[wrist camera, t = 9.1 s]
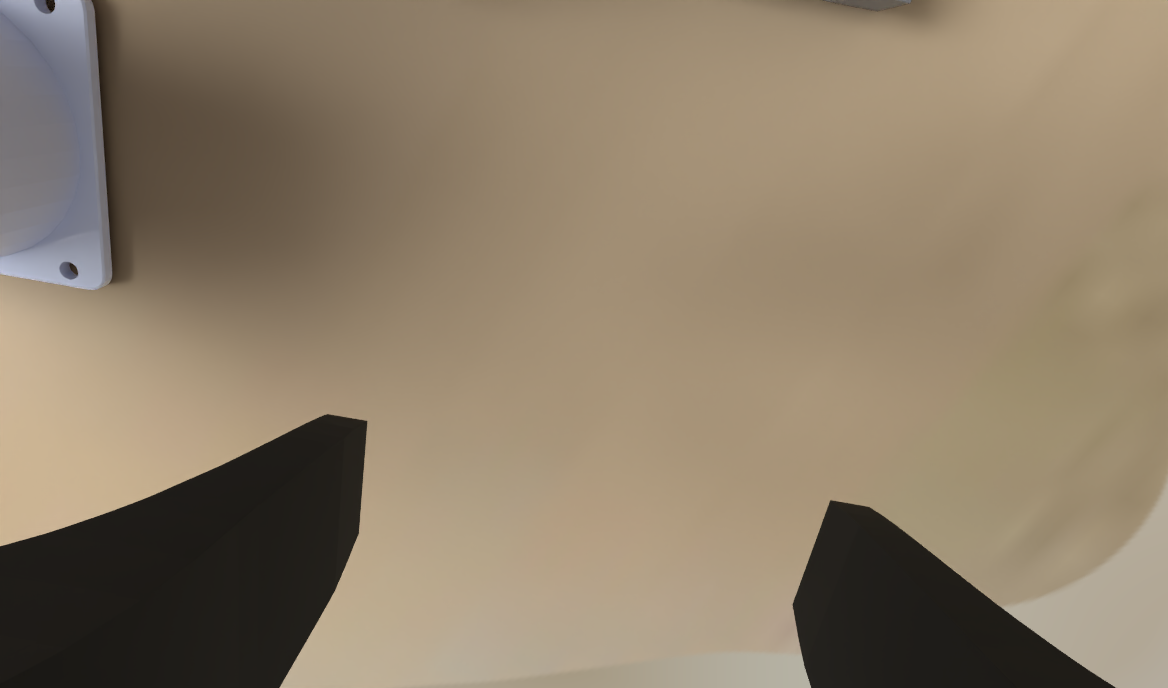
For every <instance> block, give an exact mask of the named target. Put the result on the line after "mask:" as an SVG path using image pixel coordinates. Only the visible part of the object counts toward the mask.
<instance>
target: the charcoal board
mask: <svg viewBox="0 0 1168 688" xmlns="http://www.w3.org/2000/svg"><path fill="white" fill-rule="evenodd" d="M824 1H828V2H833V3H838V4H843V5H848V6H853V7H858V8H863V9H868V10H873V11H881V10H885V9H889V8H893V7H897V6H901V5H905V4H909V3H910V2H911V0H824Z"/></svg>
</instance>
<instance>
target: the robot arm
mask: <svg viewBox="0 0 1168 688" xmlns="http://www.w3.org/2000/svg"><path fill="white" fill-rule="evenodd" d="M54 1H55V10H54V11H53V12H51V11H50V10H49V9H48V8H47V5H46V0H0V274H2V275H8V276H13V277H19V278H25V279H30V280H36V281H42V282H47V283H53V284H59V285H64V286H70V287H76V288H81V289H87V290H96V289H99V288H101V287H103V286H106V285H108V284H109V282H110V281H111V279H112V261H111V246H110V231H109V217H108V202H107V187H106V172H105V157H104V142H103V127H102V112H101V98H100V83H99V68H98V53H97V38H96V23H95V10H94V6H93V3H92V1H91V0H54ZM70 263H73V264H74V265H75V266H76V267H77V270H78V275H76V274H74V273H73V272H72V271H71V269H70V266H69V264H70ZM366 431H367V421H364V420H358V419H352V418H346V417H340V416H334V415H329V414H327V415H324V416H322V417H319V418H317V419H315V420H312V421H310V422H308V423H306V424H304V425H302V426H300V427H298V428H296V429H294V430H292V431H290V432H288V433H286V434H284V435H282V436H280V437H278V438H276V439H274V440H272V441H270V442H268V443H266V444H264V445H262V446H260V447H258V448H256V449H254V450H252V451H250V452H248V453H246V454H244V455H242V456H240V457H238V458H236V459H233V460H231V461H229V462H227V463H225V464H223V465H221V466H219V467H217V468H214V469H212V470H210V471H208V472H205V473H203V474H201V475H198V476H196V477H194V478H192V479H189V480H187V481H185V482H183V483H180V484H178V485H176V486H173V487H171V488H169V489H167V490H164V491H162V492H160V493H157V494H155V495H153V496H150V497H148V498H145V499H143V500H140V501H138V502H135V503H133V504H130V505H127V506H125V507H122V508H119V509H117V510H114V511H111V512H109V513H106V514H103V515H100V516H97V517H94V518H91V519H88V520H85V521H82V522H80V523H77V524H74V525H71V526H68V527H65V528H62V529H59V530H56V531H53V532H49V533H46V534H43V535H39V536H36V537H32V538H29V539H25V540H22V541H18V542H15V543H11V544H7V545H4V546H0V688H279V687H280V686H281V684H282V682H283V680H284V679H285V677H286V675H287V674H288V672H289V670H290V668H291V667H292V665H293V663H294V661H295V660H296V658H297V656H298V655H299V653H300V651H301V649H302V648H303V646H304V644H305V643H306V641H307V639H308V637H309V636H310V634H311V632H312V630H313V629H314V627H315V625H316V623H317V622H318V620H319V618H320V616H321V615H322V613H323V611H324V609H325V608H326V606H327V604H328V602H329V600H330V599H331V597H332V595H333V593H334V591H335V589H336V587H337V585H338V582H339V580H340V578H341V575H342V573H343V571H344V568H345V566H346V563H347V561H348V559H349V556H350V554H351V551H352V549H353V546H354V544H355V541H356V539H357V536H358V534H359V523H360V510H361V496H362V483H363V470H364V457H365V444H366ZM793 610H794V615H795V621H796V626H797V632H798V638H799V642H800V647H801V652H802V657H803V661H804V666H805V669H806V672H807V675H808V679H809V681H810V685H811V688H1115V687H1114V686H1112V685H1111V684H1109V683H1108V682H1106V681H1104V680H1103V679H1101V678H1100V677H1098V676H1096V675H1095V674H1094V673H1092V672H1090V671H1089V670H1087V669H1086V668H1085V667H1083V666H1082V665H1080V664H1079V663H1077V662H1076V661H1074V660H1073V659H1071V658H1070V657H1068V656H1067V655H1066V654H1064V653H1063V652H1061V651H1060V650H1058V649H1057V648H1056V647H1054V646H1053V645H1052V644H1050V643H1049V642H1047V641H1046V640H1045V639H1043V638H1042V637H1040V636H1039V635H1038V634H1036V633H1035V632H1034V631H1032V630H1031V629H1029V628H1028V627H1027V626H1025V625H1024V624H1022V623H1021V622H1019V621H1018V620H1017V619H1016V618H1014V617H1013V616H1012V615H1010V614H1009V613H1008V612H1006V611H1005V610H1004V609H1002V608H1001V607H1000V606H998V605H997V604H996V603H994V602H993V601H992V600H991V599H989V598H988V597H987V596H985V595H984V594H983V593H981V592H980V591H979V590H978V589H976V588H975V587H974V586H973V585H971V584H970V583H969V582H967V581H966V580H965V579H964V578H962V577H961V576H960V575H959V574H957V573H956V572H955V571H953V570H952V569H951V568H950V567H948V566H947V565H946V564H945V563H943V562H942V561H941V560H940V559H938V558H937V557H936V556H935V555H933V554H932V553H931V552H930V551H928V550H927V549H926V548H924V547H923V546H922V545H921V544H919V543H918V542H917V541H916V540H914V539H913V538H912V537H910V536H909V535H908V534H907V533H905V532H904V531H903V530H901V529H900V528H899V527H897V526H896V525H895V524H893V523H892V522H891V521H889V520H888V519H886V518H885V517H884V516H882V515H881V514H879V513H878V512H876V511H874V510H873V509H871V508H870V507H866V506H860V505H854V504H848V503H843V502H837V501H831V500H830V503H829V506H828V508H827V511H826V514H825V517H824V520H823V522H822V525H821V528H820V531H819V533H818V536H817V539H816V542H815V544H814V547H813V550H812V553H811V555H810V558H809V561H808V564H807V566H806V569H805V572H804V575H803V577H802V580H801V583H800V586H799V588H798V591H797V594H796V597H795V599H794V602H793Z"/></svg>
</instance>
